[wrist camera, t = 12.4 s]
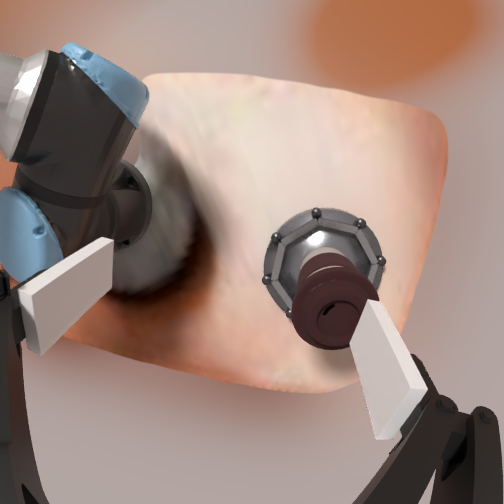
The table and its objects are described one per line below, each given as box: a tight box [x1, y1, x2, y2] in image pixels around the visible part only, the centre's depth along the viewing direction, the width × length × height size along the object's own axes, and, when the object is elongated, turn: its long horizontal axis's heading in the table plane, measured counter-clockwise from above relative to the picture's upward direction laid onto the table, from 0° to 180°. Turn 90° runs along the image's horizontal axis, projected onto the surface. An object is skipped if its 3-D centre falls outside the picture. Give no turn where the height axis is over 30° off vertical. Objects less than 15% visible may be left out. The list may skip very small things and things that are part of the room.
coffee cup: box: [292, 247, 379, 350], centre depth 39 cm, size 10×10×15 cm
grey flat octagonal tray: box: [262, 208, 386, 318], centre depth 46 cm, size 18×18×2 cm
